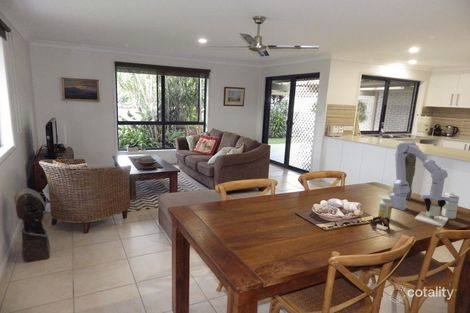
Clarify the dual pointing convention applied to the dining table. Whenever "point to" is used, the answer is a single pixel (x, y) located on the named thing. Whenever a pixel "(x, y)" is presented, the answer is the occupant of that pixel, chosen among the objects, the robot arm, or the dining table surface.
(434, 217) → the board
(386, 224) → the brown animal figurine
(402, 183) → the robot arm
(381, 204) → the supplement bottle
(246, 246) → the dining table surface
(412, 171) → the thermos
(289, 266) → the dining table surface
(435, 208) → the collar
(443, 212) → the syrup box
